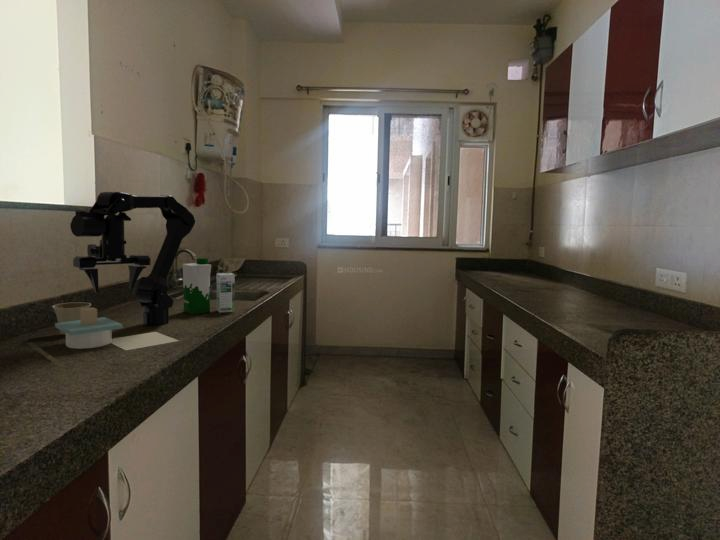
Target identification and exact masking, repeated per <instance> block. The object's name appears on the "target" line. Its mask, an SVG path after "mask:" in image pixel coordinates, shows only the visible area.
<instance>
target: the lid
mask: <svg viewBox="0 0 720 540" xmlns="http://www.w3.org/2000/svg"><path fill="white" fill-rule="evenodd" d="M54 327H55V328H56V329H58V330H59V329H60V330H62V331H64V332H65V333H67V334H69V335H77V334H84V333H91V332H98V331H105V330H117V329H118V330H119V329H123V327H124V326H123V324H122V323H121V322H118V321H116V320H113V319H110V318H108V317H105V316H102V317H98V308H95V307H93V306H92V307H91V306H90V308H81V309H80V320H78V321H70V322H61V323H58V322H55V324H54ZM60 330H59V331H60Z"/></svg>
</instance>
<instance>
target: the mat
mask: <svg viewBox="0 0 720 540" xmlns="http://www.w3.org/2000/svg"><path fill="white" fill-rule="evenodd" d="M179 341H180V340H178V339H176V338H173V337H171V336H167V335H165V334H162V333H160V332H157V331H151V332H147V333H140V334H132V335H126V336H120V337H114V338H113V337H112V341H111V342H110V344H112V345H114V346H116V347H117V348H120V349H122V350H124V351H131V350H137V349H143V348H148V347H153V346H159V345H164V344H170V343H176V342H179Z"/></svg>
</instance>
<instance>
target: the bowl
mask: <svg viewBox="0 0 720 540" xmlns="http://www.w3.org/2000/svg"><path fill="white" fill-rule="evenodd" d="M112 330H113V329H112ZM112 330H105V331H98V332H91V333H84V334H77V335H69V334H67V333H66V334H65V346H66V347H67V348H69V349H81V350H82V349H92V348H94V349H95V348H101V347H104V346H107V345H110V344H111V343H110V342H111V341H112V339H113V337H112V335H113V334H112V332H113V331H112Z"/></svg>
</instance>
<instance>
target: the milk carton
mask: <svg viewBox="0 0 720 540" xmlns="http://www.w3.org/2000/svg"><path fill="white" fill-rule="evenodd" d="M211 271H212V264H210V263H209V258H206V257H198V258H196V262H195V263H194V262H193V263H191V262H189V263H182V273H183V274H182V279H183V282H182V287H183V297H182V299H183V312H184V313H186V314H189V315H199V314H198V313H201V314H207V313H206V312H210V313H211Z"/></svg>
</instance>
